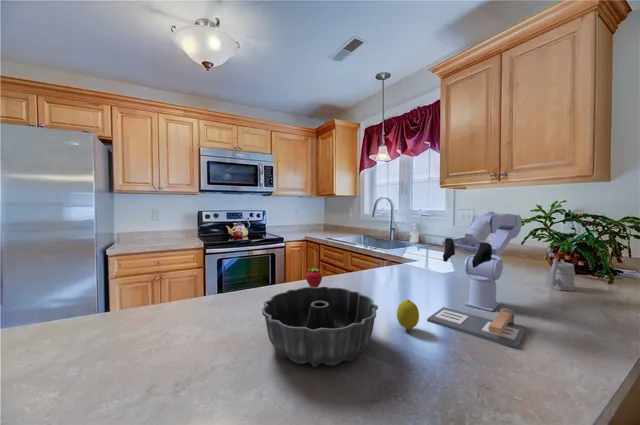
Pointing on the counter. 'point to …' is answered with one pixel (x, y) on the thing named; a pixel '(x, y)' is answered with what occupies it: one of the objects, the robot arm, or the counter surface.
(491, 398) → the counter surface
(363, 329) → the bundt pan
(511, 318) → the shiny grey curved piece
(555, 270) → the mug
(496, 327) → the bar
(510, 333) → the panel
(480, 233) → the robot arm
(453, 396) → the counter surface
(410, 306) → the lemon
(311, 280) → the strawberry
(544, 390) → the counter surface
